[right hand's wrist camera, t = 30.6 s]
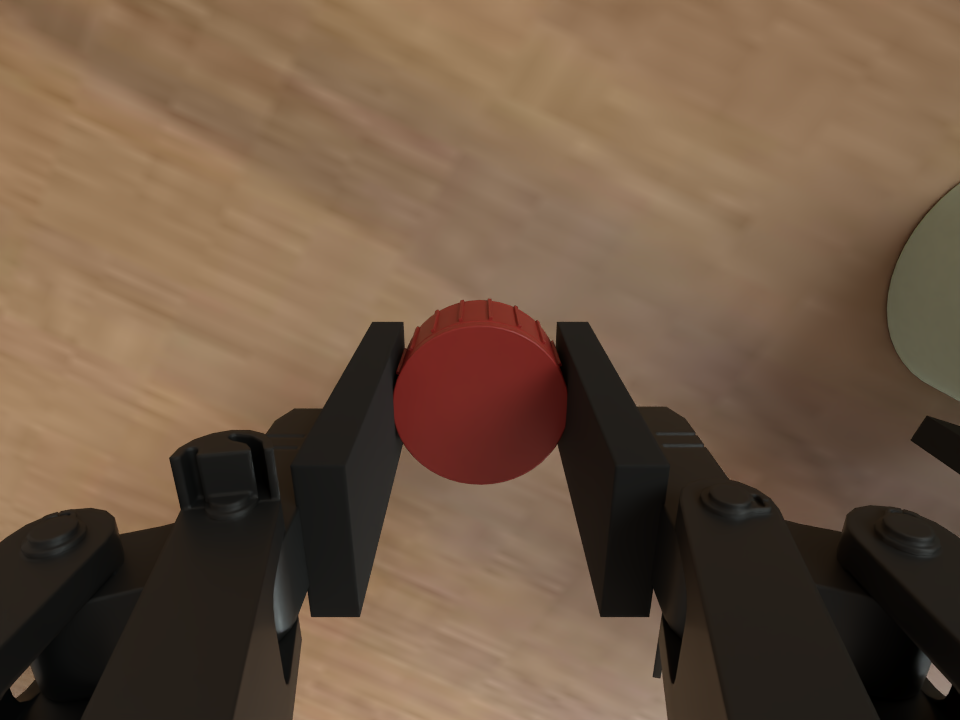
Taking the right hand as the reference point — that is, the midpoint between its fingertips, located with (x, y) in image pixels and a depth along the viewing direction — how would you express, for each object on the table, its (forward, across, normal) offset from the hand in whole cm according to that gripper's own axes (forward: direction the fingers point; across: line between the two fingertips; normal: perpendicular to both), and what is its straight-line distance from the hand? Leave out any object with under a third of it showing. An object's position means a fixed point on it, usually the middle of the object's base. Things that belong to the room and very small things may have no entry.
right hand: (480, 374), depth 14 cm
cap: (-2, 0, 0) cm, 2 cm away
